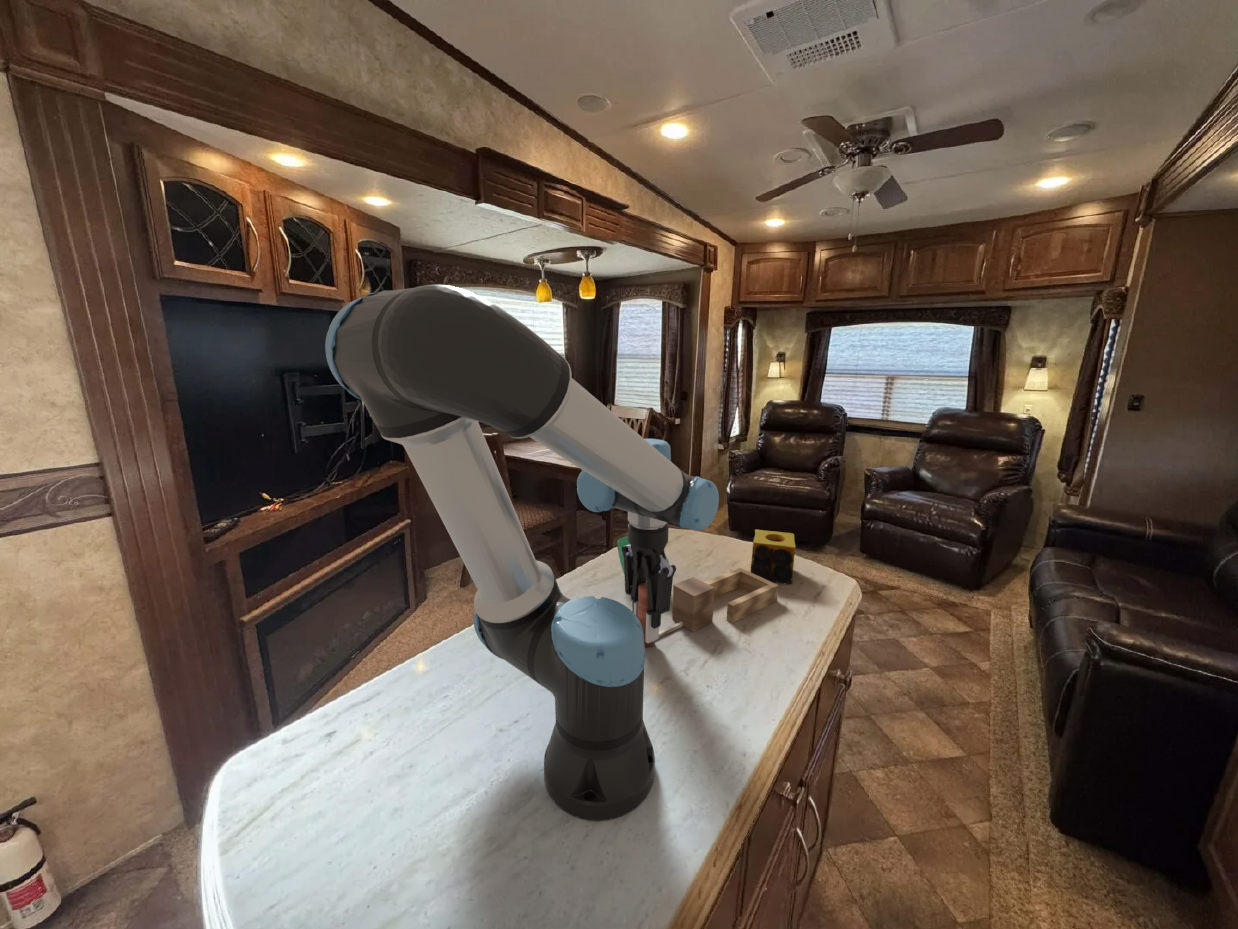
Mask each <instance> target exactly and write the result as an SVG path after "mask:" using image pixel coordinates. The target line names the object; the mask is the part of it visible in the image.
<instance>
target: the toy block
mask: <svg viewBox="0 0 1238 929" xmlns="http://www.w3.org/2000/svg"><path fill="white" fill-rule="evenodd" d="M754 533H755V534H754V537H753V541H752V550H751V551H752V553H751V561H750V562H751V564H750V572H751V573H753V574H755V575H757V576H760V577H762V578H764V579H766V580H768V581H771V582H773V583H775V584H778V583H779V584H784V583H786V585H792V584H793V577H794V576H793V575H794V567H795V566H794V564H795V554H796V553H795V552H796V547H797V546H796V541H795V534H794V533H792V532H782V531H775V530H773V531H771V530H766V529H765V530H763V529H754Z"/></svg>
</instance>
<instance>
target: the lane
mask: <svg viewBox="0 0 1238 929" xmlns="http://www.w3.org/2000/svg"><path fill="white" fill-rule="evenodd" d="M703 582H704V583H706V584H708V585H710V586H712V587H714V599H715V598H717V597H719V596H722V595H723V594H726V593H728V592H731V591H733V590H736V589H738V588H742V589H744V590H746V591H749V593H747V594H744V595H743V596H740V597H737V598H735V599H733V600H732V601H729V602H727V605H726V606H727V608H726V621H728V622H730V623H731V624H734V623H735V622H737V621H740V620H742V619H743V618H746V617H747V616H750V615H751V614H753V613H756V612H757V611H759V610H762V609H764V608H766V607H768V606H770V605H772V604H774V603H776V602H778V595H779V584H778V583H776V582H771V581H768V580H766V579H764V578H762V577H760V576H757V575H755V574H753V573H751V571H749V570H746V569H744V568H742V567H739V568H736V569H733V570H730V571H729V572H725V573H723V574H720V575H718V576H715V577H714V578H711V579H709V580H706V581H703Z"/></svg>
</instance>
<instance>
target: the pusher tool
mask: <svg viewBox="0 0 1238 929" xmlns="http://www.w3.org/2000/svg"><path fill="white" fill-rule="evenodd" d="M704 582H705V581H702V580H700V579H698V578H697V577H694V576H693V577H690V578H688V579H685V580H682V581H679V582H676V583H674V584H672V613H671V614H672V616H671V619H672V620H673V621H675V622H676V623H674V624H673V625H670V626H668V627H665V628H663V629H662V630H659V638H661V637H663V636H665V635H667V634H669V633H672V632H674V631H676V630H678V629H680V628H682V627H684V628H685V629H687V630H689V631H690V632H691V633H692V632H695V631H697V630H699V629H701V628H703V627H705V626H708V625H710V624H712V623H713V621H714V620H713V618H714V604H715V603H714V602H715V598H714V587H712V586H710V585H708V584H706V583H704ZM648 610H649V600H648V588H647V583H641V584H639V586H638V619H639V621H640V623H641V626H642V630H643V635H644V645H645V648H650V647H652V646H653V645H654V642H655V641H652V642H650V643H647V642H646V611H648Z"/></svg>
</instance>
